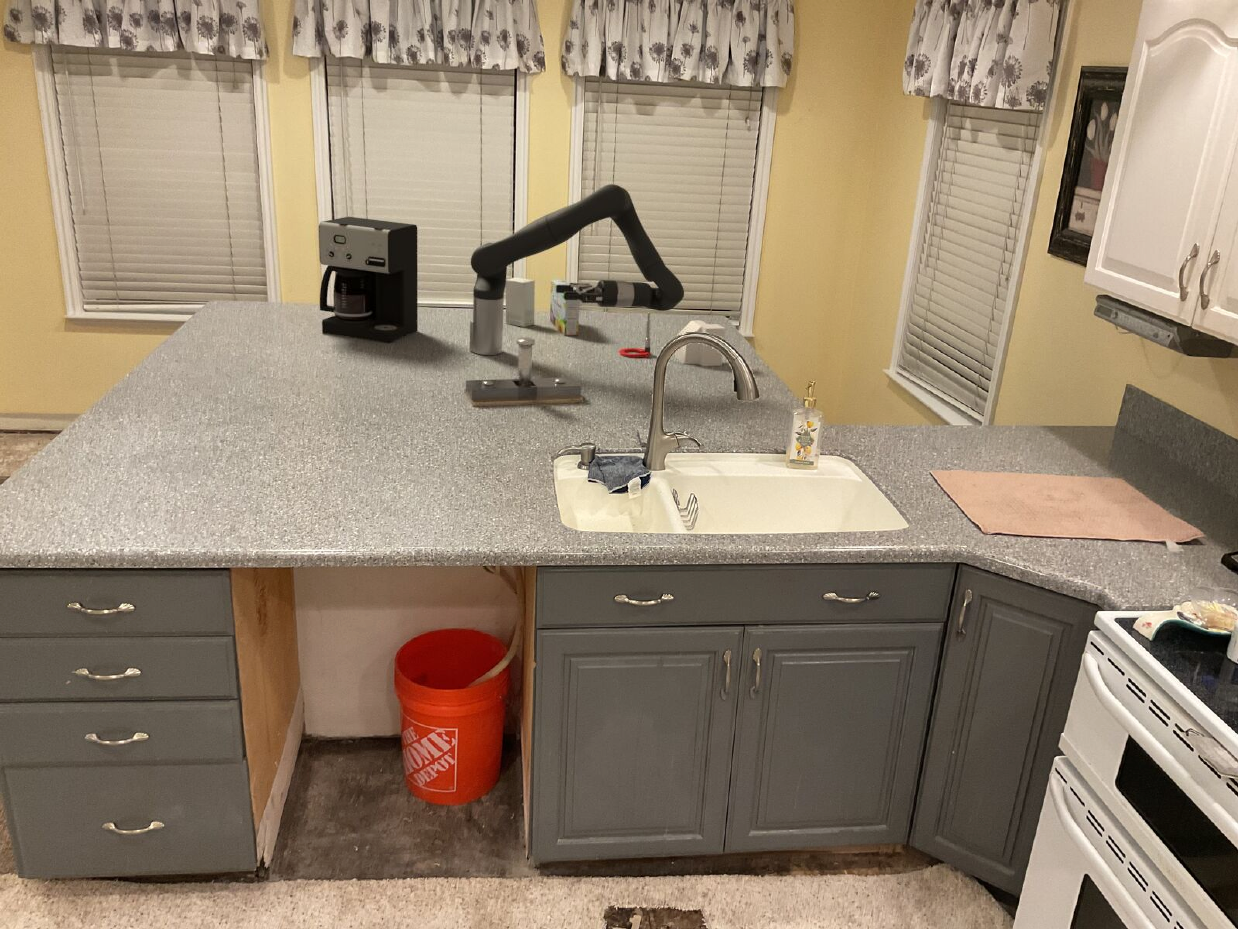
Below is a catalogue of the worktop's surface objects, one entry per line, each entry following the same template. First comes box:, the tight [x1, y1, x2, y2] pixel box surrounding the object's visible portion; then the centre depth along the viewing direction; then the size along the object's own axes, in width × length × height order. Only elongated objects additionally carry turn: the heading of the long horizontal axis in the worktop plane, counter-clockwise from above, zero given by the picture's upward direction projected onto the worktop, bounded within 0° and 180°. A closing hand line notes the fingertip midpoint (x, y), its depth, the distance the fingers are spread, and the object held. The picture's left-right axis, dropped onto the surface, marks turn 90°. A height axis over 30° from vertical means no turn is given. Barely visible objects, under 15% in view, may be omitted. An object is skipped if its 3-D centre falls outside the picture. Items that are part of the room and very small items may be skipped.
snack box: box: [549, 279, 580, 337], centre depth 348 cm, size 21×6×15 cm, turn 17°
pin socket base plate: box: [463, 376, 584, 407], centre depth 274 cm, size 30×12×5 cm, turn 109°
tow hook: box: [618, 312, 651, 359], centre depth 323 cm, size 9×14×10 cm
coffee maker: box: [318, 216, 419, 344], centre depth 322 cm, size 28×20×35 cm
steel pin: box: [516, 337, 536, 386], centre depth 271 cm, size 5×5×15 cm
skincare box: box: [505, 276, 536, 328], centre depth 349 cm, size 8×7×16 cm
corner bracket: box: [674, 319, 726, 367], centre depth 320 cm, size 11×11×12 cm
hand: (560, 292), depth 282 cm, fingers open, 8 cm apart
